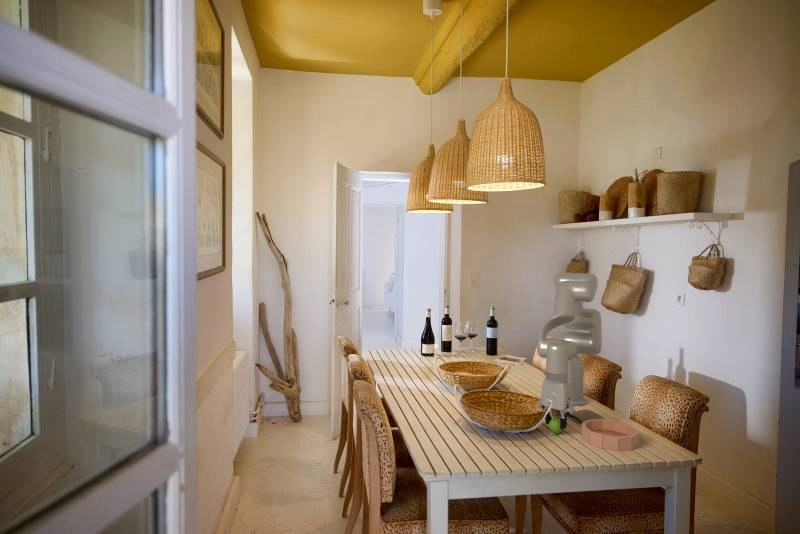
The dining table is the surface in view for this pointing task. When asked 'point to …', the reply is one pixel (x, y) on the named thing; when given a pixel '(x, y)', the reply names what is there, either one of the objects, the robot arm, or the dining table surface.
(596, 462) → the dining table surface
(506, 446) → the dining table surface
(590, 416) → the clay tablet
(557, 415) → the snail figurine
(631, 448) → the terracotta bowl
